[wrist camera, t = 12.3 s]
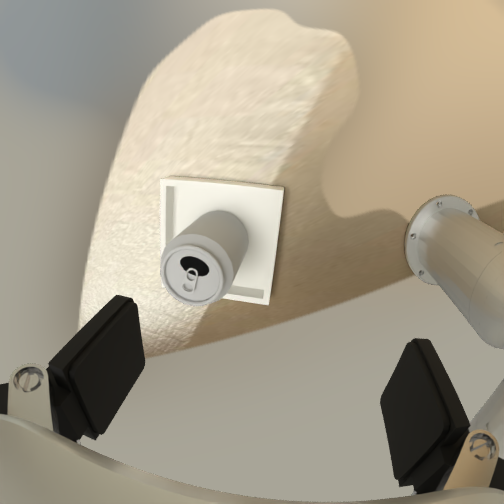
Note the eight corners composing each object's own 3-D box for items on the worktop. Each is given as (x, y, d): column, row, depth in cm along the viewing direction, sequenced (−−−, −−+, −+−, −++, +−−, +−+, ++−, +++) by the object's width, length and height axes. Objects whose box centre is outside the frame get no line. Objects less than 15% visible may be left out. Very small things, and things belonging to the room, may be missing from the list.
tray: (284, 186, 35) (283, 190, 32) (270, 294, 40) (268, 305, 38) (170, 175, 36) (160, 178, 34) (169, 277, 42) (161, 287, 39)
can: (257, 221, 36) (240, 257, 25) (239, 272, 39) (217, 324, 28) (201, 200, 37) (161, 227, 25) (186, 253, 39) (147, 295, 28)
